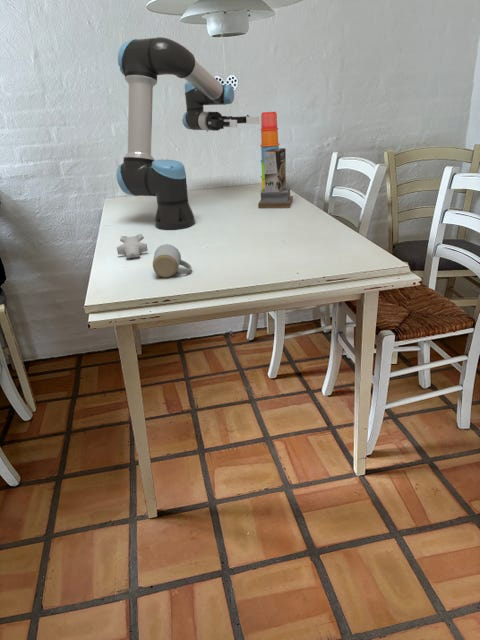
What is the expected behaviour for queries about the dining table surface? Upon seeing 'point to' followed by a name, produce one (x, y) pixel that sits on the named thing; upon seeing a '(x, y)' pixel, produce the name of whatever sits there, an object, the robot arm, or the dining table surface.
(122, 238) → the grey teddy bear
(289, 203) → the tower stand
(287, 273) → the dining table surface
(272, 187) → the coffee box
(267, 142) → the stacking cups
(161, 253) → the ceramic mug
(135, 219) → the dining table surface
